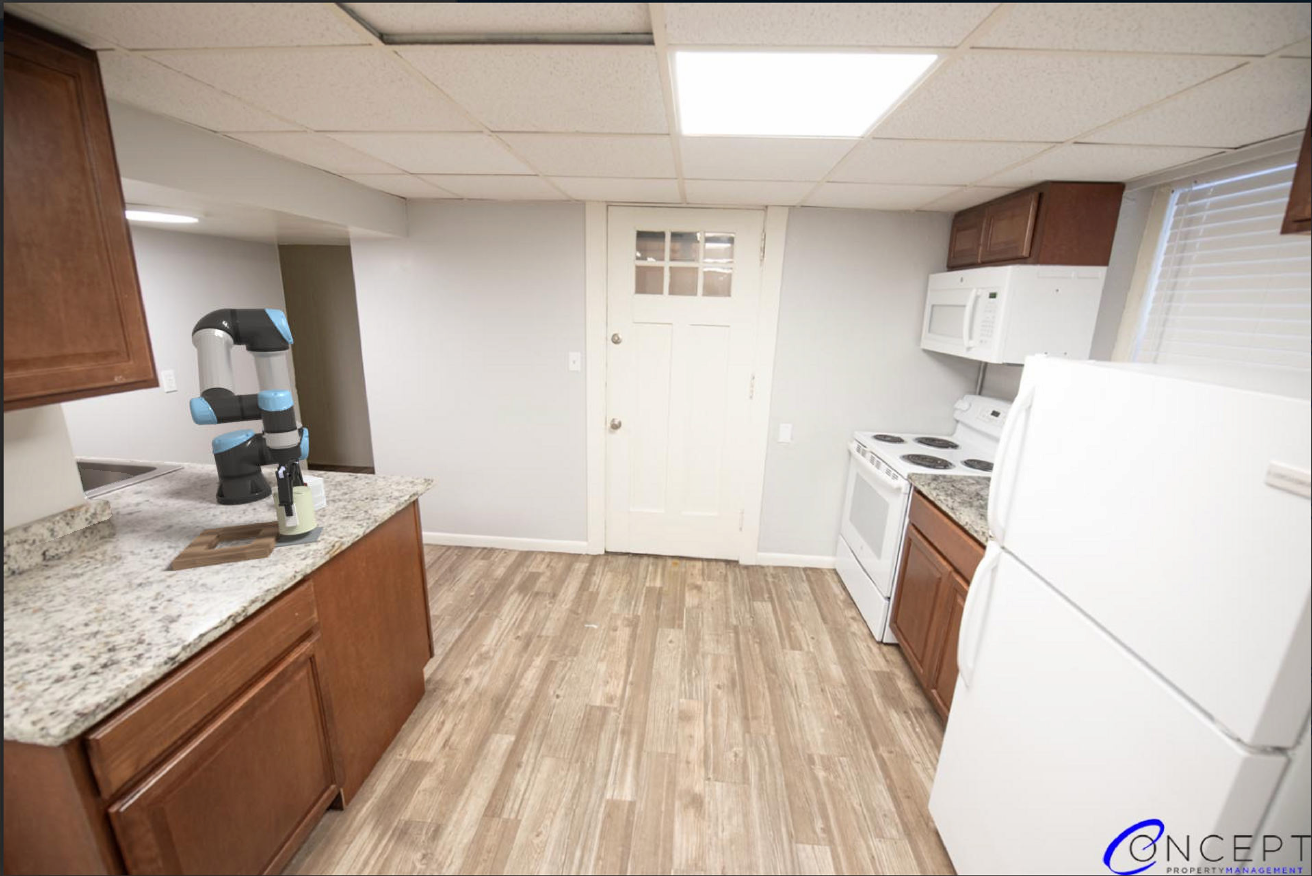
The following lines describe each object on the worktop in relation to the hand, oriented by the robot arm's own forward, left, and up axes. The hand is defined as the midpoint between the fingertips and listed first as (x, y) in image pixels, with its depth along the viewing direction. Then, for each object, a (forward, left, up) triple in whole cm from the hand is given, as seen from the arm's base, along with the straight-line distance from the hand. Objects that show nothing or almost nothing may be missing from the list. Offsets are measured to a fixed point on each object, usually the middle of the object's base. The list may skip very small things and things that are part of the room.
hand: (297, 518), depth 145 cm
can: (0, 0, -3) cm, 3 cm away
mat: (0, 0, -6) cm, 6 cm away
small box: (-24, -2, -6) cm, 25 cm away
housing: (+1, -15, -6) cm, 16 cm away
